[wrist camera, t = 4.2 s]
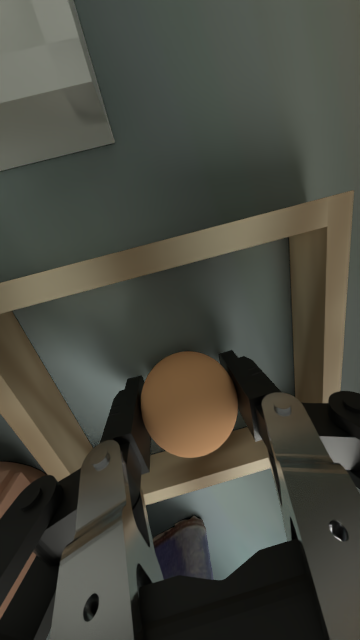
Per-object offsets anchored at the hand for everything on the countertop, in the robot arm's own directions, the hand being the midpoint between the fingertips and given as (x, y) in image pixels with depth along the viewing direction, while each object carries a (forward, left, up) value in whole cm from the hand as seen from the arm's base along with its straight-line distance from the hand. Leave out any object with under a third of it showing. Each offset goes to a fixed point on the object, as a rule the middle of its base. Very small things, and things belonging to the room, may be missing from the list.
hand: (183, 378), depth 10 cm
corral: (0, 0, -1) cm, 1 cm away
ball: (0, 0, +2) cm, 2 cm away
